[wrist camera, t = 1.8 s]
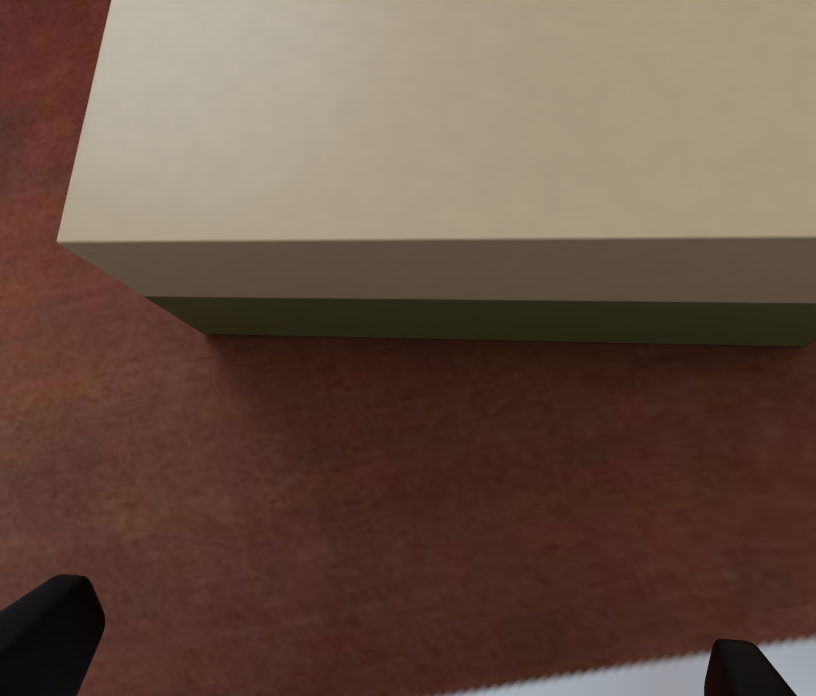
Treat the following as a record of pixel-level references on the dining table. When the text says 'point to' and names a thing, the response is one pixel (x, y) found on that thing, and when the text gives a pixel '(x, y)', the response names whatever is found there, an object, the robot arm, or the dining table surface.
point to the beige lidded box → (458, 168)
